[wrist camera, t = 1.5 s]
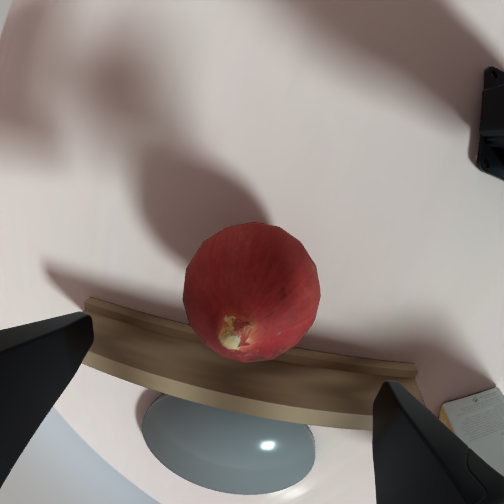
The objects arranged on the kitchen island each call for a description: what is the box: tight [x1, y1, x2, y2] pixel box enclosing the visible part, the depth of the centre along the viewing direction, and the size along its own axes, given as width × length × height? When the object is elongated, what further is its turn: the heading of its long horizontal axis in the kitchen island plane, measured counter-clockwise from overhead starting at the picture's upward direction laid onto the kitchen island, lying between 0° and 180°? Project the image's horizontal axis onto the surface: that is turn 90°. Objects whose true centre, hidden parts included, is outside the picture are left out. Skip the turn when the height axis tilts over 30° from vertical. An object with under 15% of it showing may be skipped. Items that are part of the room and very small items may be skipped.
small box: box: [439, 387, 504, 476], centre depth 14 cm, size 8×6×10 cm
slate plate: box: [142, 393, 315, 495], centre depth 21 cm, size 14×14×1 cm
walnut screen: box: [82, 297, 426, 430], centre depth 17 cm, size 22×2×4 cm, turn 81°
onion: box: [183, 222, 321, 363], centre depth 13 cm, size 6×6×8 cm
